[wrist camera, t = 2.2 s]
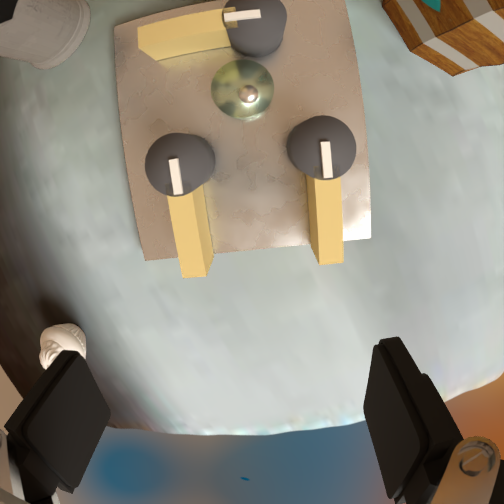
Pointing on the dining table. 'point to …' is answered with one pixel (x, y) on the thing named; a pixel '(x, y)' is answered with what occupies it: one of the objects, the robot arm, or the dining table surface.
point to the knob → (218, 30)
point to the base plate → (244, 127)
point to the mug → (451, 31)
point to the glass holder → (42, 30)
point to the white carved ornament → (61, 342)
